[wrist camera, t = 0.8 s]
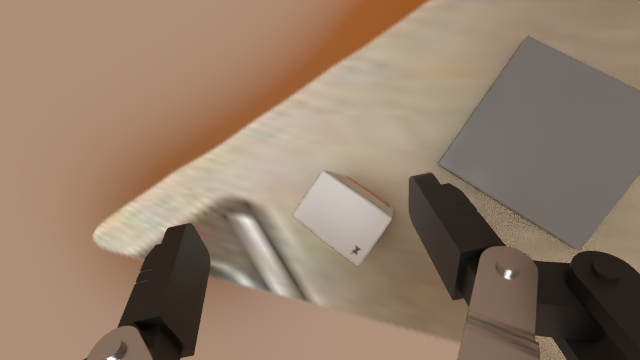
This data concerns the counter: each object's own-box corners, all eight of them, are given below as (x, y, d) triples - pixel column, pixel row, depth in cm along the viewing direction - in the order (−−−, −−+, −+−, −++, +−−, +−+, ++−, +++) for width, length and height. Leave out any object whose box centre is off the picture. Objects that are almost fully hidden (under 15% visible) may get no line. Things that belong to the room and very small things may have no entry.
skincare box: (395, 207, 32) (396, 219, 21) (371, 241, 33) (358, 271, 21) (347, 174, 34) (322, 167, 22) (324, 206, 34) (288, 217, 22)
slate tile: (523, 40, 30) (527, 35, 29) (676, 116, 27) (686, 113, 26) (437, 164, 31) (438, 163, 30) (573, 248, 29) (579, 250, 28)
